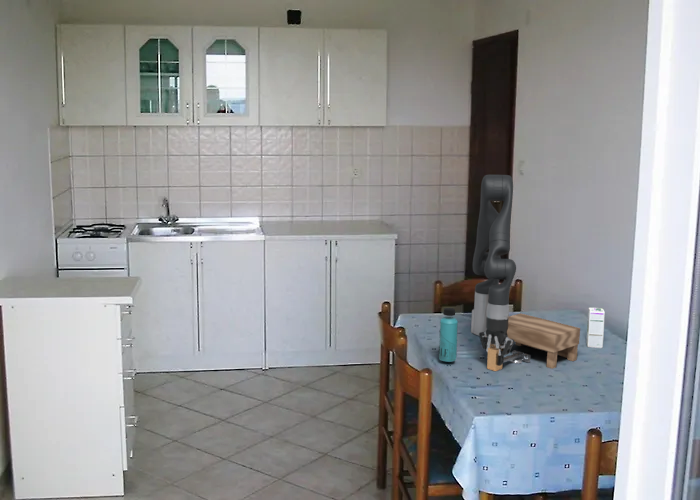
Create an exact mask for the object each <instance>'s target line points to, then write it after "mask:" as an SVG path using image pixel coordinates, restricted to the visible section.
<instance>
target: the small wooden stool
mask: <svg viewBox="0 0 700 500" xmlns="http://www.w3.org/2000/svg"><path fill="white" fill-rule="evenodd" d="M580 334H581V327H578V326H573V325H569V324H565V323H562V322H558V321H553V320H550V319H546V318H540V317H537V316H532V315H529V314H525V313H522V312H521V313H517V314H512V315H509V320H508V330H507V335H508V338H510V339H513V340H514V343H515V346H519V347H523V346H525V347H527V348H528V347H529V348H532V349H534V350H535V349H536V350H540V351H542V352H545V353H547V354H546V355H547V356H546V368H547V369H548V368H549V369H555V368H557V361H558V356H560V357H563V358H567V361H570V362H574V361H577V359H578V346H579V345H580V336H581V335H580ZM495 346H496V345H495ZM500 346H501V345H500Z"/></svg>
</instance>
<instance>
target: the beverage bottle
mask: <svg viewBox="0 0 700 500" xmlns="http://www.w3.org/2000/svg"><path fill="white" fill-rule="evenodd" d="M442 313H443V316H444V317H442V318H441V319H440V321H439V323H440V324H439V331H438V332H439V342H438V343H439V345H438V358H439V360H440V361H441V362H442V361H443V362H448V363H450V362H455V361H456V360H457V356H458V355H457V354H458V351H457V350H458V325H459V324H458V323H459V321H458V320H457V318H456V317H453V316H456V309H455V308H453V307H444V308H443V312H442Z"/></svg>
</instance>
